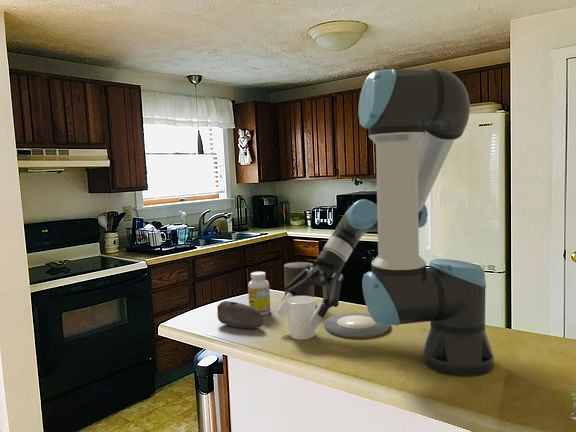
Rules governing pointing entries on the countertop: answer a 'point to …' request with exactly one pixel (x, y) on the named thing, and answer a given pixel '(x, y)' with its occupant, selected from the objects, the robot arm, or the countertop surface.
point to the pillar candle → (292, 271)
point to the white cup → (301, 316)
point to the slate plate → (354, 326)
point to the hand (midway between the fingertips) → (294, 320)
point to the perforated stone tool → (239, 315)
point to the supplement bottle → (259, 293)
